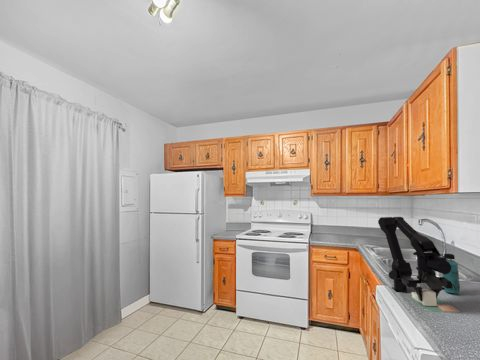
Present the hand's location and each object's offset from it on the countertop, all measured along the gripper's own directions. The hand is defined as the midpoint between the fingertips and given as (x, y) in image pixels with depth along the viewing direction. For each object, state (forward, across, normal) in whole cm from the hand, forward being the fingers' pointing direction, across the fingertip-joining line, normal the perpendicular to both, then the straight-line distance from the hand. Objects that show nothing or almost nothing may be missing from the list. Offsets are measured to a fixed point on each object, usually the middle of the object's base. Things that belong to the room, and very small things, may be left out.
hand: (427, 301), depth 110 cm
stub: (+1, 0, 0) cm, 1 cm away
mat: (+2, +2, +1) cm, 3 cm away
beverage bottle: (+2, +19, +14) cm, 24 cm away
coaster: (+2, +6, -3) cm, 7 cm away
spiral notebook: (+2, 0, +5) cm, 6 cm away
